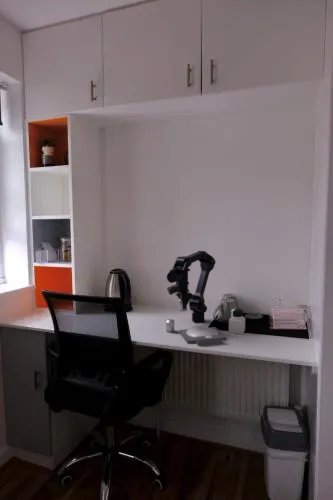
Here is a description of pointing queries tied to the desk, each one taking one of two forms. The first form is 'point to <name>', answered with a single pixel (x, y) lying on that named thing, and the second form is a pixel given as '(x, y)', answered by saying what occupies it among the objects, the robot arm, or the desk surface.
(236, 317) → the medicine bottle
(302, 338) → the desk surface
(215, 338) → the scale
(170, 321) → the cylinder
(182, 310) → the cylinder
